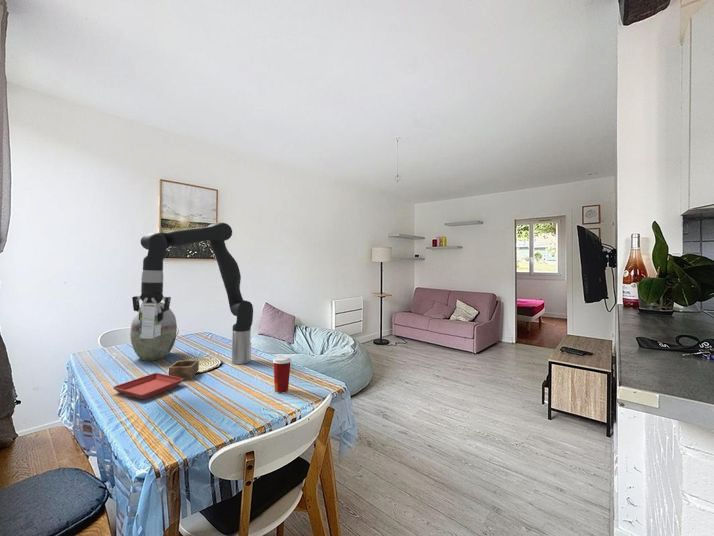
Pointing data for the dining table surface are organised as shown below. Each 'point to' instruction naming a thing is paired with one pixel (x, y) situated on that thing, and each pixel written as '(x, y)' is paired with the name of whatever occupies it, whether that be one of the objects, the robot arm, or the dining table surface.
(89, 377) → the dining table surface
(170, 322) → the vase
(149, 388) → the plant saucer
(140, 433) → the dining table surface
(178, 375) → the holder
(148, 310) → the syrup box
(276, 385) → the paper cup
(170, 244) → the robot arm
